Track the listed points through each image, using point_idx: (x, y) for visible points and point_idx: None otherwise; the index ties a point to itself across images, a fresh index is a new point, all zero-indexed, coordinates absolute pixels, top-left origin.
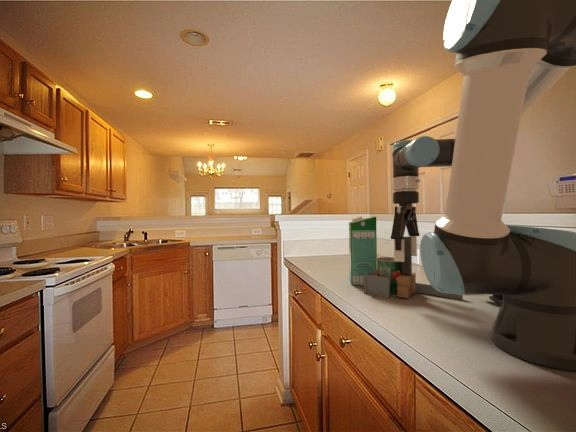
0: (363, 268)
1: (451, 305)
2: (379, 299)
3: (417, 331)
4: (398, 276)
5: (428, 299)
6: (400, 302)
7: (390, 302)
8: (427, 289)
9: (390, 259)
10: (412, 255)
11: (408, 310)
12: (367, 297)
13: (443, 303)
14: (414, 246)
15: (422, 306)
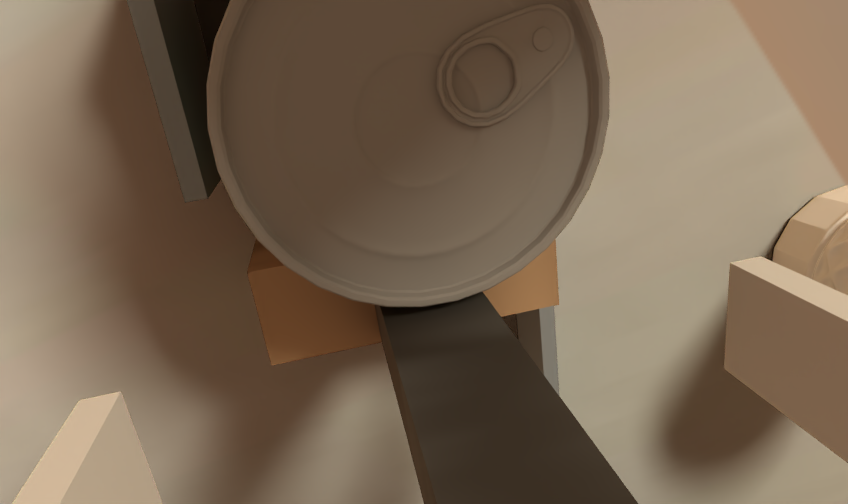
0: None
1: (375, 490)
2: (101, 131)
3: None
4: (272, 273)
5: None
6: (176, 281)
7: (109, 233)
8: (528, 325)
9: (452, 119)
10: (730, 327)
11: (58, 395)
12: (56, 19)
13: (380, 451)
14: (845, 433)
15: (218, 408)
